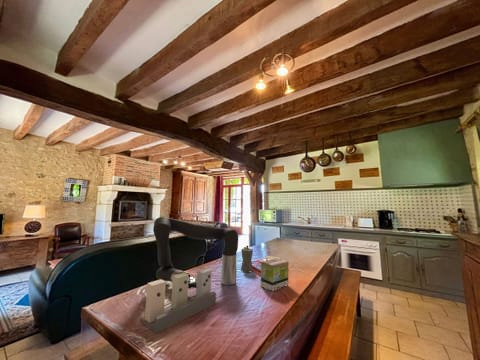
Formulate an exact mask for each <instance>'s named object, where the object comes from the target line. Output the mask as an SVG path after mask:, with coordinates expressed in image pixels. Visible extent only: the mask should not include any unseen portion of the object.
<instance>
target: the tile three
mask: <svg viewBox="0 0 480 360" xmlns="http://www.w3.org/2000/svg"><path fill="white" fill-rule="evenodd" d="M196 272H197V273H196V278H197V286H196V288H195V295H196V299H197V298H200V297H202V296H204V295H207V294H209V293H211V292H212V291H211V288H212V287H211V286H212V269H210V268H207V267H206V268H202V269H199V270H197V271H196Z"/></svg>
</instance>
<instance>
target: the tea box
mask: <svg viewBox="0 0 480 360" xmlns="http://www.w3.org/2000/svg"><path fill="white" fill-rule="evenodd" d="M260 265H261V266H260V271H261V272H260V287H261V288H263V287H264V289H265V288H266V289H265V290H268V289H269V290H268V291H270V290H272V291H273V292H275V291H277V289H278V290H280V289H282V288H281V287H283V286H285V285H288V286H289V261H287V260H284V259H281V258H280V259H277V258H276V259H272V260H267V261H266V260H263V261H261V263H260ZM279 288H280V289H279ZM283 288H284V287H283ZM274 290H275V291H274ZM272 291H271V292H272Z"/></svg>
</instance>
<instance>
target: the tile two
mask: <svg viewBox="0 0 480 360" xmlns="http://www.w3.org/2000/svg"><path fill="white" fill-rule="evenodd" d="M186 273H187V272H186ZM186 273H180V274H177V275H174V276H173V282H171V283H172V285H171V301H170V305H171V308H172V309H175V308H177V307H179V306H182V305H184V304H186V303H187V299H188V298H189V296H188V295H189V294H188V293H189V289H188V280H189V274H190V273H189V274H186Z"/></svg>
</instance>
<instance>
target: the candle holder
mask: <svg viewBox="0 0 480 360" xmlns="http://www.w3.org/2000/svg"><path fill="white" fill-rule="evenodd" d="M276 258H277V259H281V258H280V256H279V257H278V256H276V255H267V256H266V257H265V261H267V260H272V259H276Z"/></svg>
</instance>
